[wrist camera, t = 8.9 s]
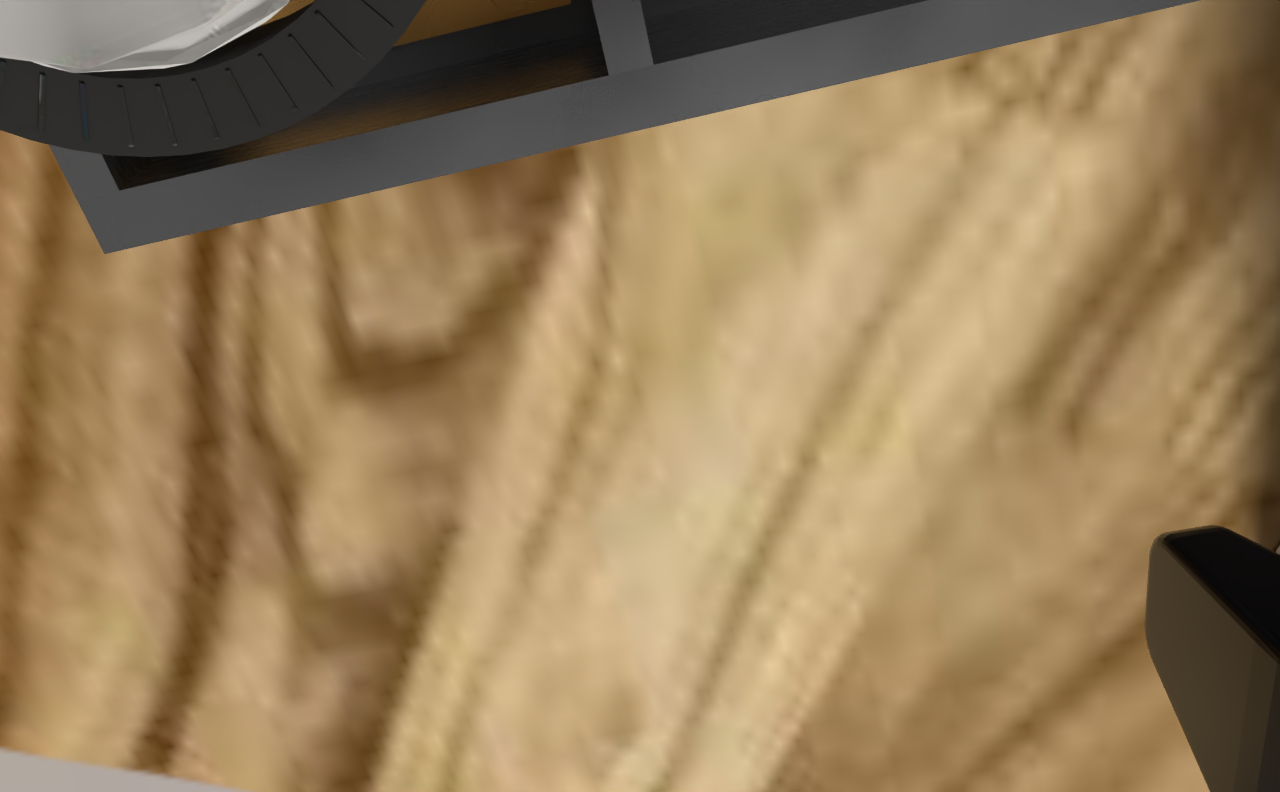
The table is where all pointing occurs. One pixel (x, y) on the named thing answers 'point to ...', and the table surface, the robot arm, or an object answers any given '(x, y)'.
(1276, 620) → the robot arm
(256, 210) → the divided tray
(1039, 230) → the table surface
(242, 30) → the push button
